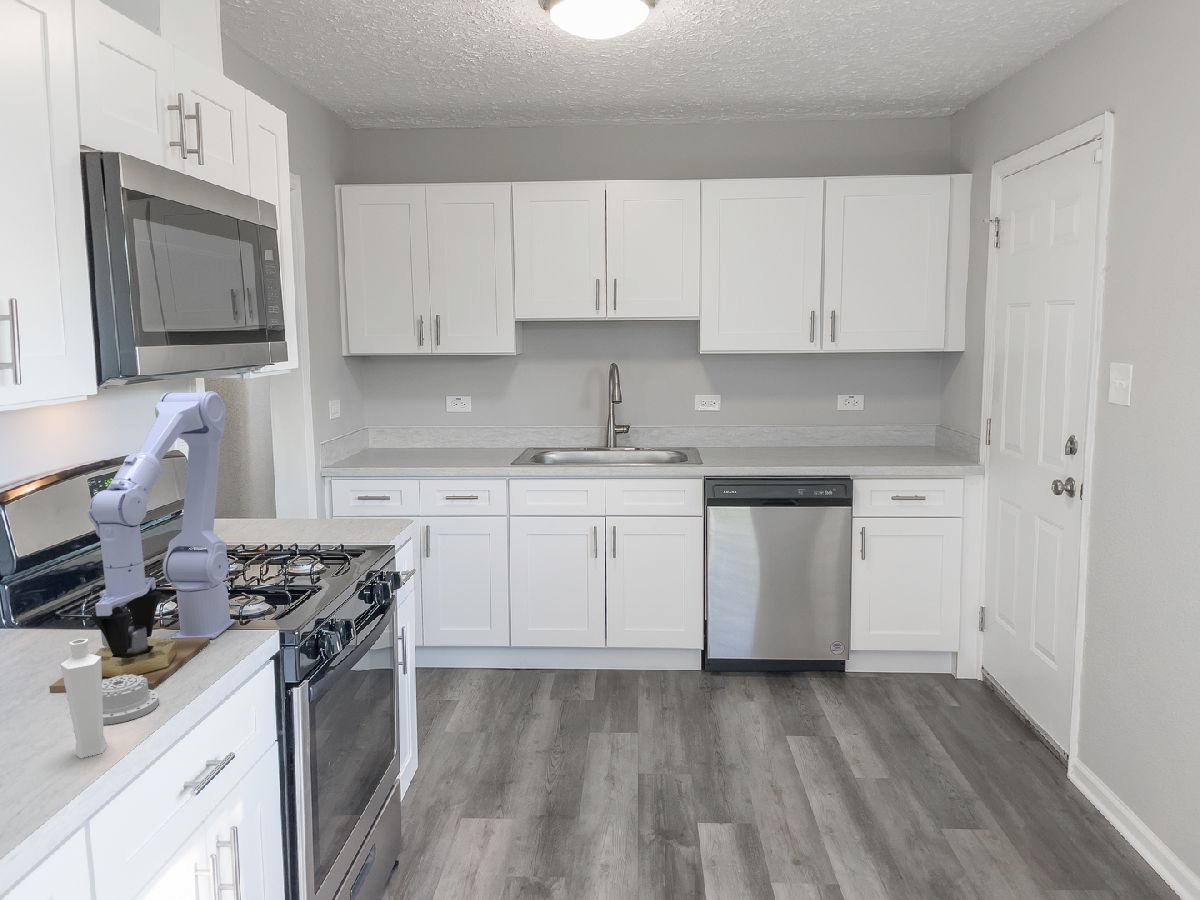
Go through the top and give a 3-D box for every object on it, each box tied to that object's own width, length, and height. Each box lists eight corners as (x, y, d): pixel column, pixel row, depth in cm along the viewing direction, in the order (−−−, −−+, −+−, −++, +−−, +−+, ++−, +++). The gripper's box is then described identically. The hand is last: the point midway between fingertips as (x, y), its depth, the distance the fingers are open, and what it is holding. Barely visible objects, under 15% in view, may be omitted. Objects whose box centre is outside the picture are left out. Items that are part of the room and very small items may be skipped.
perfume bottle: (117, 749, 117) (105, 640, 115) (80, 761, 114) (67, 649, 112) (104, 739, 120) (92, 632, 118) (68, 751, 117) (55, 642, 115)
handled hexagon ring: (189, 660, 145) (188, 642, 145) (99, 684, 136) (97, 666, 135) (149, 633, 159) (148, 617, 159) (65, 653, 150) (63, 636, 150)
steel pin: (128, 661, 146) (125, 625, 146) (153, 659, 147) (150, 624, 146) (117, 670, 143) (113, 634, 142) (143, 668, 143) (139, 632, 142)
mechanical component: (93, 702, 133) (72, 731, 124) (90, 674, 132) (68, 700, 123) (165, 694, 136) (150, 721, 126) (163, 666, 135) (147, 691, 125)
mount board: (119, 646, 157) (118, 640, 157) (209, 643, 157) (209, 637, 156) (50, 692, 137) (49, 685, 137) (153, 689, 137) (152, 682, 137)
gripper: (122, 552, 149) (131, 630, 151) (72, 576, 135) (81, 662, 137) (164, 551, 149) (172, 629, 151) (118, 575, 135) (127, 660, 137)
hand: (132, 644), depth 144 cm, fingers open, 7 cm apart
